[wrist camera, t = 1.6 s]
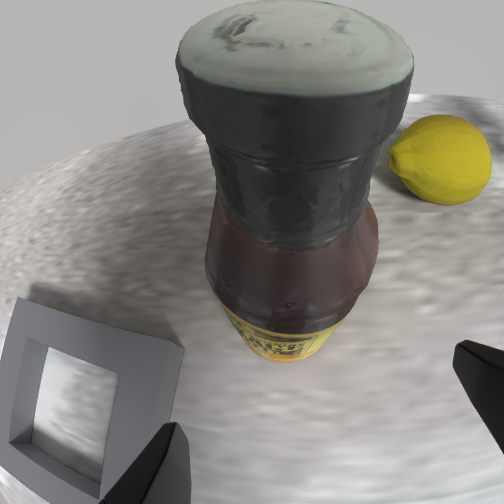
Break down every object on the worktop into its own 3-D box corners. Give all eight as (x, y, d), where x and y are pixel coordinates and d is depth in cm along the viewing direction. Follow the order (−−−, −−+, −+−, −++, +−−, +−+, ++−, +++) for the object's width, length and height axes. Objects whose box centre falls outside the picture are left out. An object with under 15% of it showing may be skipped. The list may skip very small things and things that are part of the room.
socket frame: (150, 535, 15) (133, 547, 12) (9, 455, 18) (-12, 454, 15) (184, 348, 22) (170, 340, 19) (37, 307, 25) (17, 296, 22)
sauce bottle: (224, 324, 22) (51, 71, 5) (283, 265, 24) (258, -25, 6) (290, 387, 20) (305, 268, 2) (350, 321, 21) (492, 49, 4)
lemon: (461, 162, 27) (487, 106, 20) (484, 224, 23) (524, 171, 16) (369, 154, 28) (383, 88, 21) (384, 221, 25) (410, 155, 18)
